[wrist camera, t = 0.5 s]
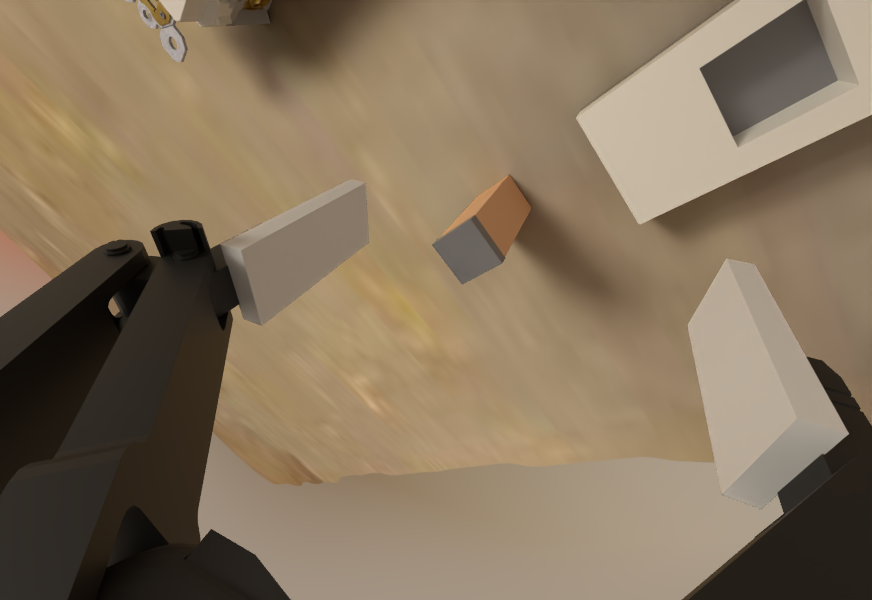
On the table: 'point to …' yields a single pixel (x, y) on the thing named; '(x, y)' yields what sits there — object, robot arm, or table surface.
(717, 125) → the socket plate
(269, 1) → the electrical outlet
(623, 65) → the table surface
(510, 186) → the copper brown rectangular block
